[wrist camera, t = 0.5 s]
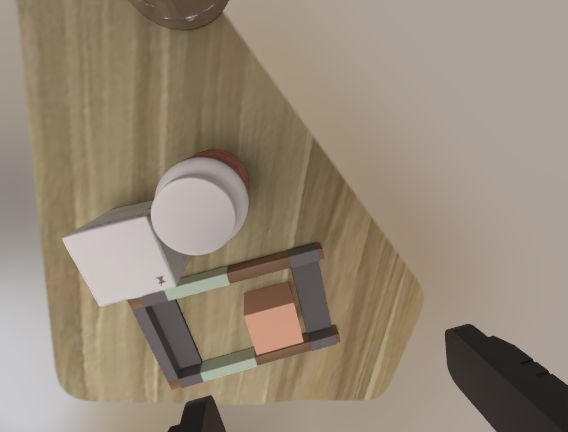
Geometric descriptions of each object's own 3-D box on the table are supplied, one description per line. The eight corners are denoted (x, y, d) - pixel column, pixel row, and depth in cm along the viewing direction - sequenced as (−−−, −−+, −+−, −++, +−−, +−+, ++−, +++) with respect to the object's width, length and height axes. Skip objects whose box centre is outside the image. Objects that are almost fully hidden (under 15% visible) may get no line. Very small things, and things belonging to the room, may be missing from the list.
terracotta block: (244, 292, 29) (243, 316, 26) (288, 280, 30) (293, 302, 26) (255, 328, 31) (256, 355, 27) (296, 316, 31) (303, 342, 28)
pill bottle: (187, 142, 24) (139, 150, 14) (254, 157, 25) (258, 175, 15) (178, 207, 26) (130, 259, 15) (242, 218, 27) (238, 274, 16)
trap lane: (133, 290, 28) (126, 300, 26) (318, 242, 29) (322, 248, 27) (175, 378, 32) (171, 390, 30) (336, 333, 33) (340, 342, 31)
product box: (175, 192, 25) (148, 214, 18) (196, 248, 27) (178, 288, 20) (111, 208, 25) (58, 237, 18) (136, 264, 27) (98, 310, 20)
